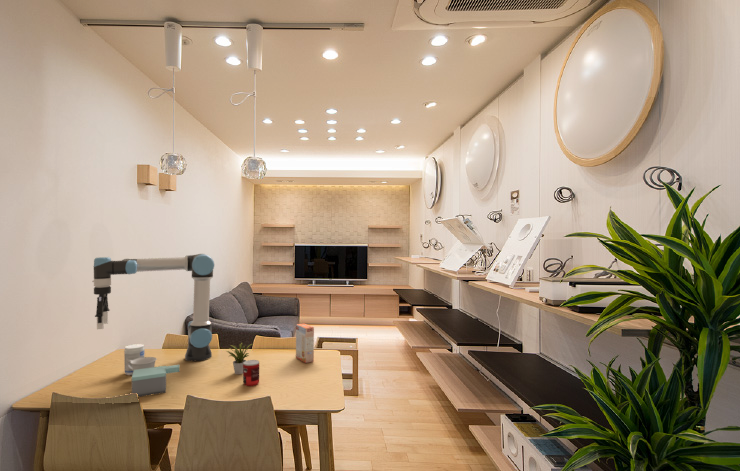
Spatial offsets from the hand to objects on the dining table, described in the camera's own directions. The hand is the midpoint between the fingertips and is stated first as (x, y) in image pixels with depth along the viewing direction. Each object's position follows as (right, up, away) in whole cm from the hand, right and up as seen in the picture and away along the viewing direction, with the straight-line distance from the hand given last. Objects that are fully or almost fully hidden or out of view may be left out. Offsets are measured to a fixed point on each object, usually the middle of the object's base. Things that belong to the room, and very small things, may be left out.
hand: (102, 326), depth 206 cm
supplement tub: (+12, -28, +8) cm, 31 cm away
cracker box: (+102, -28, +31) cm, 111 cm away
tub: (+35, -28, -17) cm, 48 cm away
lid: (+38, -20, -16) cm, 45 cm away
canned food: (+81, -28, -8) cm, 86 cm away
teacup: (+21, -28, -2) cm, 35 cm away
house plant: (+71, -28, +9) cm, 77 cm away
